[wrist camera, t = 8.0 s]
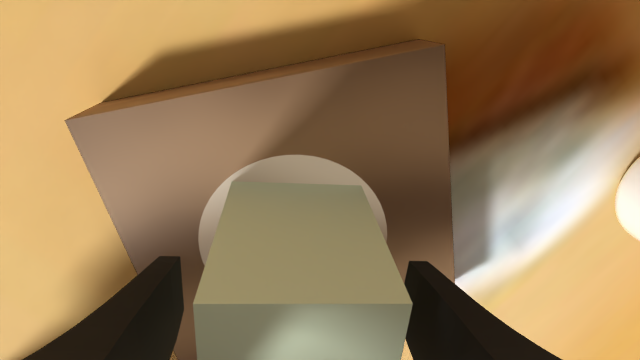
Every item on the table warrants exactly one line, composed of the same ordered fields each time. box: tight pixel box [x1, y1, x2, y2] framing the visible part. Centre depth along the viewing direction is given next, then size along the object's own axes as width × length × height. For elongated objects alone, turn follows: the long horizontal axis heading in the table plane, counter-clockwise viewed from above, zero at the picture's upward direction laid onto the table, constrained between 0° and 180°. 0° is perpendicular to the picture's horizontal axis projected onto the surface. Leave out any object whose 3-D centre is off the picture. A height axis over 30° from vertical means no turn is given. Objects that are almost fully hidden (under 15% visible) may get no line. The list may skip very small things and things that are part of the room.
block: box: [193, 181, 413, 360], centre depth 11 cm, size 4×4×6 cm
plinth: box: [65, 39, 455, 360], centre depth 15 cm, size 12×12×2 cm
